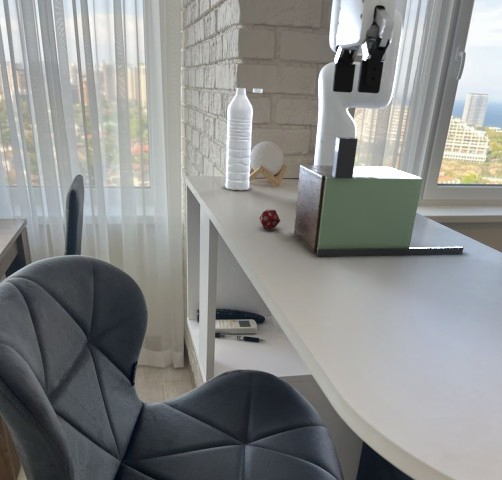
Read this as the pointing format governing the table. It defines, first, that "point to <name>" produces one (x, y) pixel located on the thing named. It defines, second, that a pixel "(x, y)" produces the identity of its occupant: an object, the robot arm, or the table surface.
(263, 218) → the dice
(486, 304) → the table surface
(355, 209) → the sliding door
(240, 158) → the water bottle
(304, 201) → the cabinet
